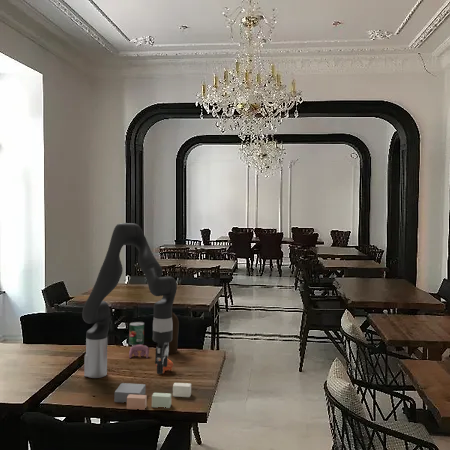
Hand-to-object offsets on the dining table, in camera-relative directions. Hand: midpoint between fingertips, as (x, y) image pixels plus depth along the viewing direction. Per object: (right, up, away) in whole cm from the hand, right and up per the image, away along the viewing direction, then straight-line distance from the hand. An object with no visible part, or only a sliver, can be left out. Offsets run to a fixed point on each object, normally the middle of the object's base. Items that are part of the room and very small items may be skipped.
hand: (162, 369), depth 205 cm
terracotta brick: (-10, -14, -1) cm, 17 cm away
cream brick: (+7, -14, +12) cm, 20 cm away
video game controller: (-19, -11, +62) cm, 65 cm away
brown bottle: (-5, -10, +71) cm, 72 cm away
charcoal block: (-14, -13, +8) cm, 21 cm away
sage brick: (0, -14, +1) cm, 14 cm away
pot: (-4, -12, +40) cm, 42 cm away
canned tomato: (-24, -9, +85) cm, 89 cm away
